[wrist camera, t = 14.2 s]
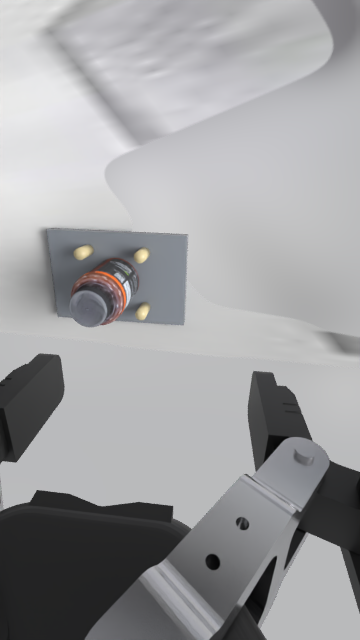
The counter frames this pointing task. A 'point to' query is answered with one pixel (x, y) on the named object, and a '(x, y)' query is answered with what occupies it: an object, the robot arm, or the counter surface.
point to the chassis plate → (140, 251)
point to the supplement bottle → (103, 292)
